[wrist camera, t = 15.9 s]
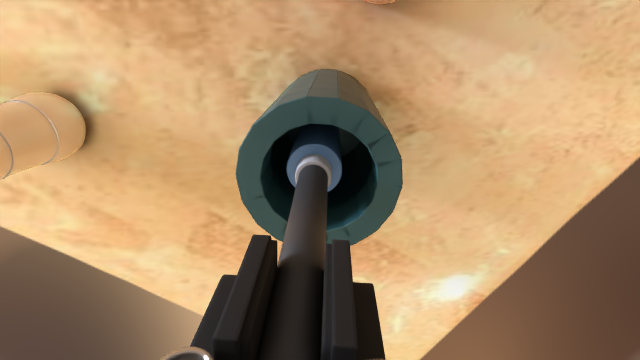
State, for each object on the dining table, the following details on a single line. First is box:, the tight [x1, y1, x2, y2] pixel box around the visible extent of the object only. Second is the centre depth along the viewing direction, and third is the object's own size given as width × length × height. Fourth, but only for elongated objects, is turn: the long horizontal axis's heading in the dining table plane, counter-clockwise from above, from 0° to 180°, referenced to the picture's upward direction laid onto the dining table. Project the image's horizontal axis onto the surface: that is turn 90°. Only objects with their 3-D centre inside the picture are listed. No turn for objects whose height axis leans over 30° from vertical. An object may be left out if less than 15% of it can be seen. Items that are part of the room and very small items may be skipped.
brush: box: [256, 124, 342, 360], centre depth 16 cm, size 3×3×22 cm
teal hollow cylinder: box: [236, 69, 403, 245], centre depth 26 cm, size 9×9×16 cm
